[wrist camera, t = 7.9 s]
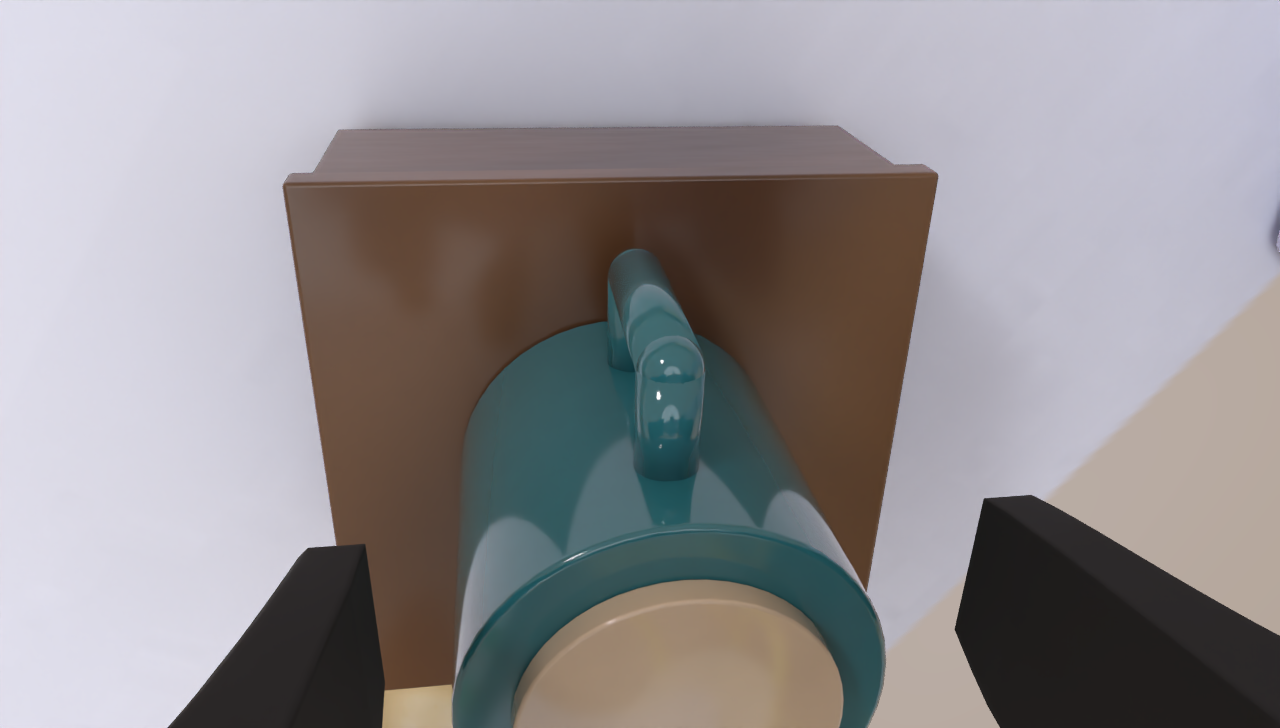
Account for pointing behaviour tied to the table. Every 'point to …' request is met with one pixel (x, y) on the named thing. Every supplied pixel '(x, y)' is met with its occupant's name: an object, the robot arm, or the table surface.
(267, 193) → the table surface
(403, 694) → the hand bell
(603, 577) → the cup
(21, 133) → the table surface
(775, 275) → the brown wooden box
